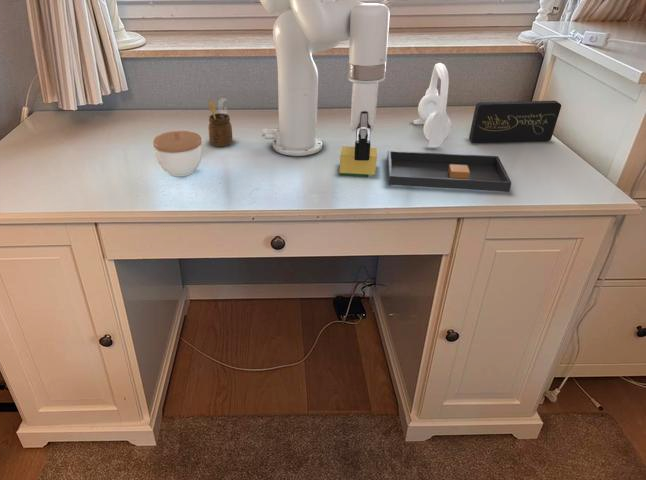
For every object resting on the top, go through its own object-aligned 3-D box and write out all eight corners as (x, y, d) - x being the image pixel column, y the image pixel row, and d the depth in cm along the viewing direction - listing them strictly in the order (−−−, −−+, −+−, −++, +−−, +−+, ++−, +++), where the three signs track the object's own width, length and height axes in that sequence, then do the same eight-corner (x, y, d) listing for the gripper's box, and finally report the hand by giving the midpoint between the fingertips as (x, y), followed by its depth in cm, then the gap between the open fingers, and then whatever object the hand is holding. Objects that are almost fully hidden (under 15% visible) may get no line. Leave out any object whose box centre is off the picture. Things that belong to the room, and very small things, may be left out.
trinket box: (154, 165, 122) (148, 127, 116) (198, 159, 125) (194, 121, 119) (162, 184, 114) (155, 143, 108) (209, 176, 117) (205, 136, 111)
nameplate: (546, 138, 134) (558, 100, 128) (550, 141, 133) (562, 102, 127) (468, 140, 133) (476, 102, 127) (470, 143, 132) (479, 104, 126)
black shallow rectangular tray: (388, 187, 112) (389, 176, 110) (386, 160, 123) (388, 150, 122) (508, 194, 109) (511, 182, 107) (495, 166, 120) (498, 156, 119)
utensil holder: (237, 141, 134) (234, 94, 127) (224, 149, 130) (220, 101, 123) (218, 137, 136) (214, 91, 129) (204, 145, 132) (200, 98, 125)
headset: (448, 151, 128) (463, 77, 117) (419, 150, 128) (431, 76, 118) (438, 123, 144) (450, 56, 133) (413, 122, 145) (423, 55, 134)
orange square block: (450, 178, 114) (451, 171, 113) (447, 170, 117) (449, 164, 116) (468, 179, 113) (470, 172, 112) (466, 171, 117) (467, 165, 116)
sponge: (339, 175, 117) (340, 154, 114) (340, 166, 121) (341, 146, 118) (374, 177, 116) (376, 156, 113) (374, 168, 120) (376, 147, 117)
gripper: (349, 62, 113) (347, 138, 122) (346, 82, 99) (343, 166, 108) (384, 62, 112) (378, 138, 121) (386, 82, 98) (379, 167, 107)
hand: (362, 151), depth 115 cm, fingers open, 9 cm apart
